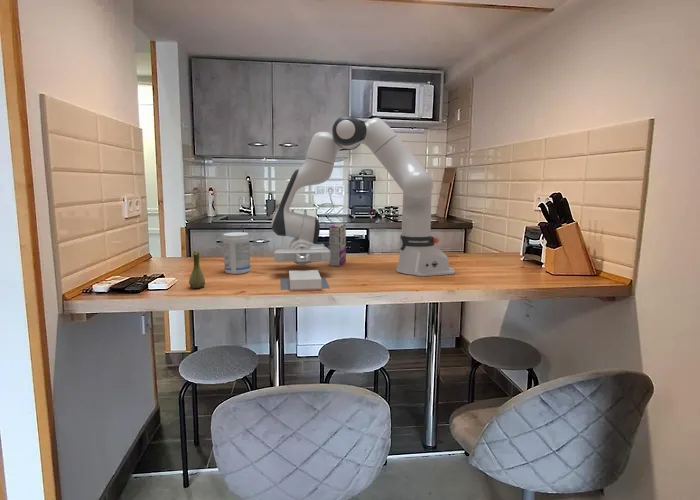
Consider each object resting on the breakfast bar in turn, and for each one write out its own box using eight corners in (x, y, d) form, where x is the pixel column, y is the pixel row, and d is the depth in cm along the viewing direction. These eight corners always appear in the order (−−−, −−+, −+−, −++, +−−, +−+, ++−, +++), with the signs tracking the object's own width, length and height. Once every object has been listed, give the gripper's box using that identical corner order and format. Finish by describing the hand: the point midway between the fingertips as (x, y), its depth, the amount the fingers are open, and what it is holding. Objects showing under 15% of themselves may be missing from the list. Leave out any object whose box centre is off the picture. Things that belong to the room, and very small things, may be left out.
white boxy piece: (317, 270, 160) (321, 279, 147) (317, 280, 161) (321, 290, 147) (288, 270, 159) (290, 279, 145) (289, 280, 159) (290, 290, 146)
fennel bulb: (198, 290, 146) (197, 253, 144) (185, 289, 148) (183, 252, 146) (208, 286, 152) (207, 250, 150) (195, 285, 153) (194, 249, 151)
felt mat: (324, 278, 165) (325, 277, 165) (330, 289, 150) (330, 288, 150) (280, 279, 163) (280, 278, 163) (280, 290, 147) (280, 289, 147)
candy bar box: (334, 261, 198) (335, 223, 195) (346, 261, 197) (346, 223, 194) (328, 266, 187) (328, 226, 184) (340, 266, 186) (340, 226, 183)
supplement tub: (252, 269, 179) (251, 232, 176) (247, 274, 169) (246, 235, 167) (227, 269, 178) (226, 231, 176) (221, 274, 169) (220, 235, 167)
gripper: (273, 244, 169) (272, 250, 156) (328, 243, 172) (332, 249, 159) (273, 261, 170) (273, 268, 157) (328, 260, 174) (332, 267, 160)
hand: (303, 259), depth 158 cm, fingers closed
